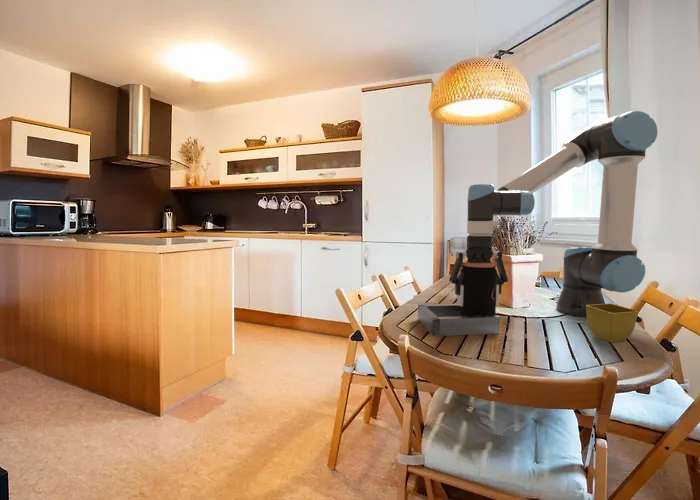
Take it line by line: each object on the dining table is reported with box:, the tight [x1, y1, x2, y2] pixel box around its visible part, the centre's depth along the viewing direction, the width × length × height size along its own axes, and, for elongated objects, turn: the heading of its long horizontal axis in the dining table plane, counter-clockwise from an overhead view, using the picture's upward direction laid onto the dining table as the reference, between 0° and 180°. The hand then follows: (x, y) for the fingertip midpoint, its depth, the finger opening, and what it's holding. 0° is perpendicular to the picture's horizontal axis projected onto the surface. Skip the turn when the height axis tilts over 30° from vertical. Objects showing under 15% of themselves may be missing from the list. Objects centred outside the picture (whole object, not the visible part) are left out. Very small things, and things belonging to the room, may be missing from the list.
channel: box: [417, 303, 501, 337], centre depth 115 cm, size 20×17×5 cm
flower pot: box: [586, 302, 639, 343], centre depth 102 cm, size 9×9×9 cm
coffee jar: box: [460, 259, 498, 316], centre depth 115 cm, size 11×11×18 cm
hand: (477, 304), depth 116 cm, fingers closed on coffee jar, 11 cm apart
